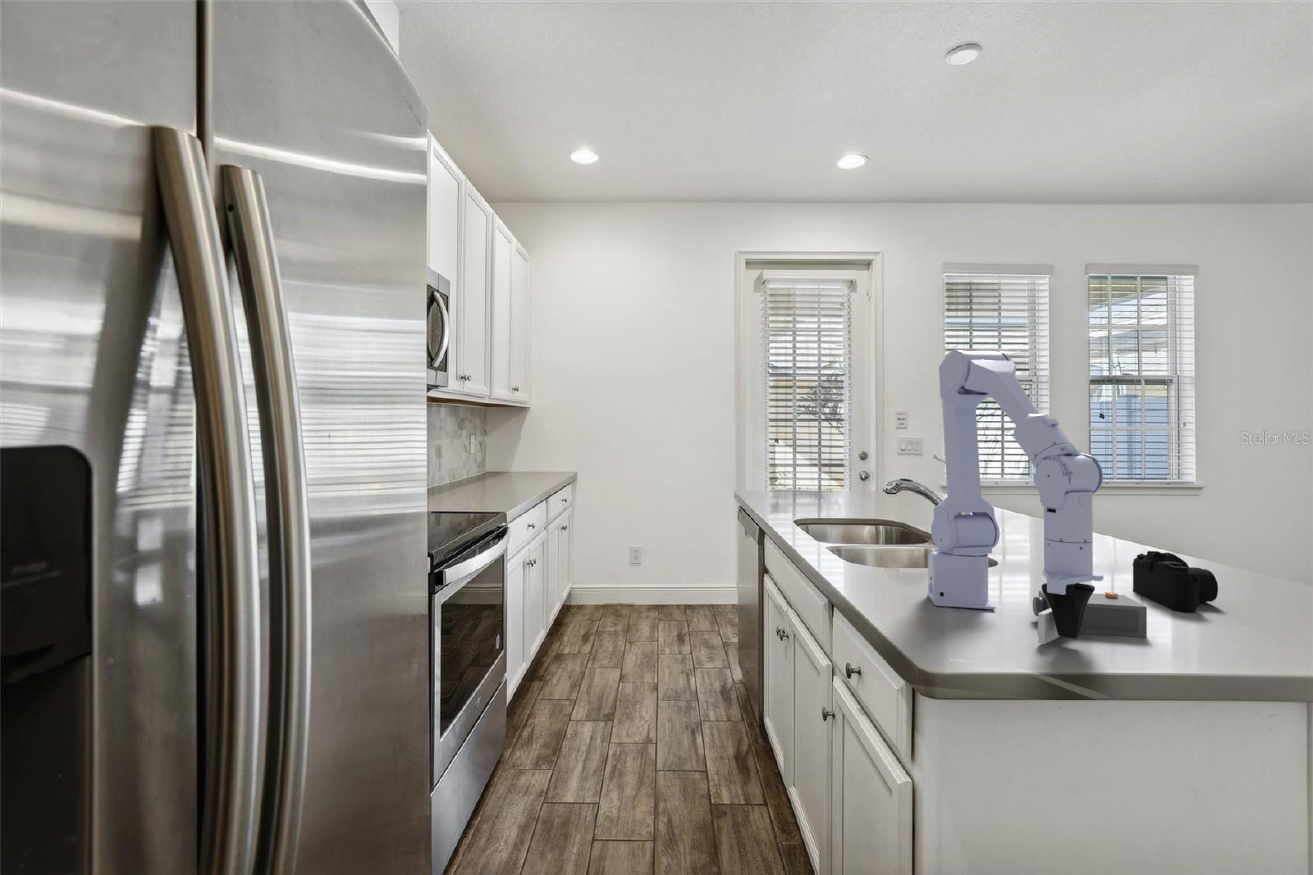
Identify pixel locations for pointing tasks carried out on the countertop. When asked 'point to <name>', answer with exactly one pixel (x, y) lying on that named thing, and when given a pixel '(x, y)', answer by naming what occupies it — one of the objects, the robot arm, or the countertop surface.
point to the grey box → (1107, 614)
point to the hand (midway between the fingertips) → (1068, 636)
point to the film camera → (1172, 581)
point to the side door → (1046, 627)
